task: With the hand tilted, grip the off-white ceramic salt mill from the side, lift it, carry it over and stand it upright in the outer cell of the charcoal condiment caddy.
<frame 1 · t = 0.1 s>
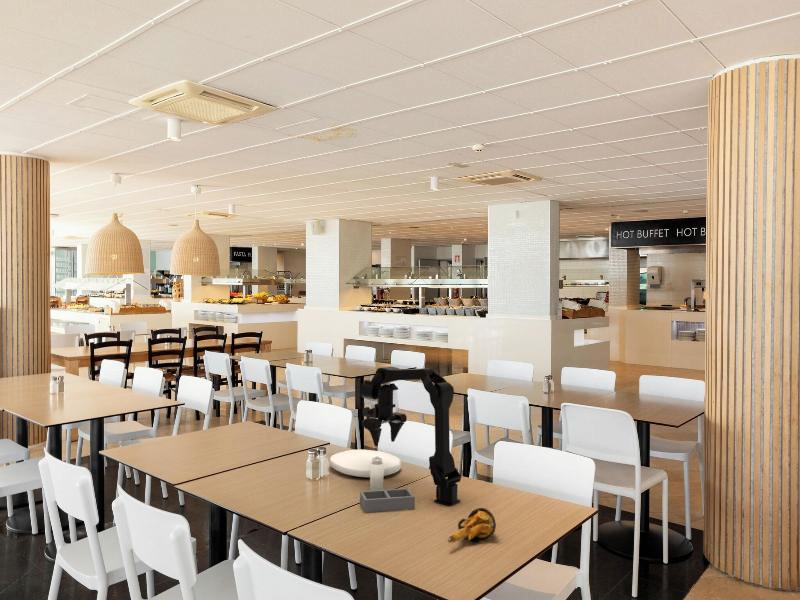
hand: (384, 443, 222), 15 cm above the table, tool pointing down, fingers open, 9 cm apart
plate: (365, 470, 239), on the table
salt mill: (376, 495, 210), on the table
fried shrimp in bowl: (471, 542, 172), on the table
condiment caddy: (386, 506, 199), on the table
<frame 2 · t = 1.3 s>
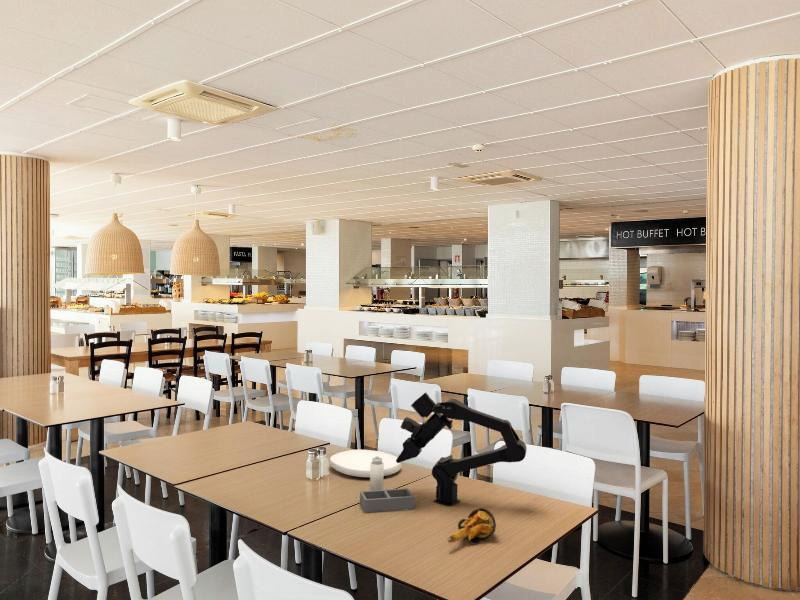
hand: (399, 458, 208), 13 cm above the table, tool tilted 45°, fingers open, 9 cm apart
nothing on the table moved.
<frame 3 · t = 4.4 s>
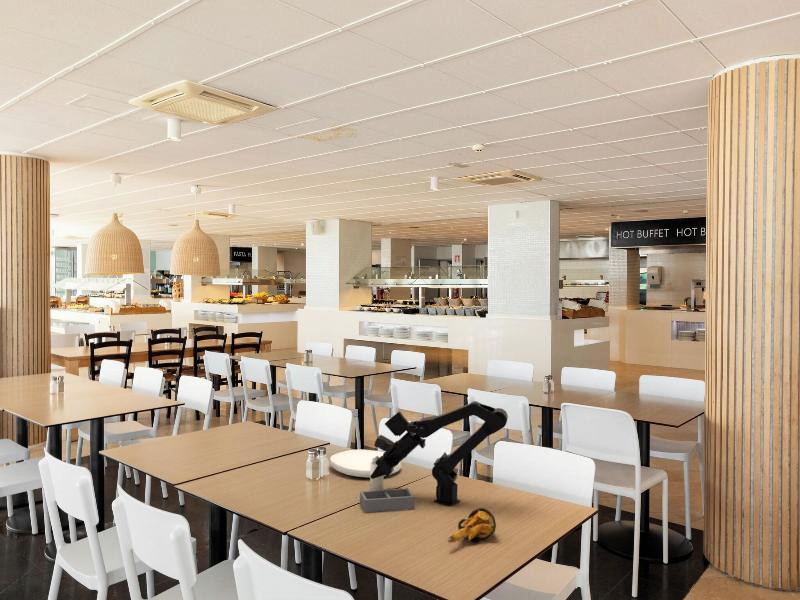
hand: (372, 475, 210), 7 cm above the table, tool tilted 45°, fingers closed on salt mill, 5 cm apart
salt mill: (376, 495, 210), on the table, touching gripper
everything else where it was.
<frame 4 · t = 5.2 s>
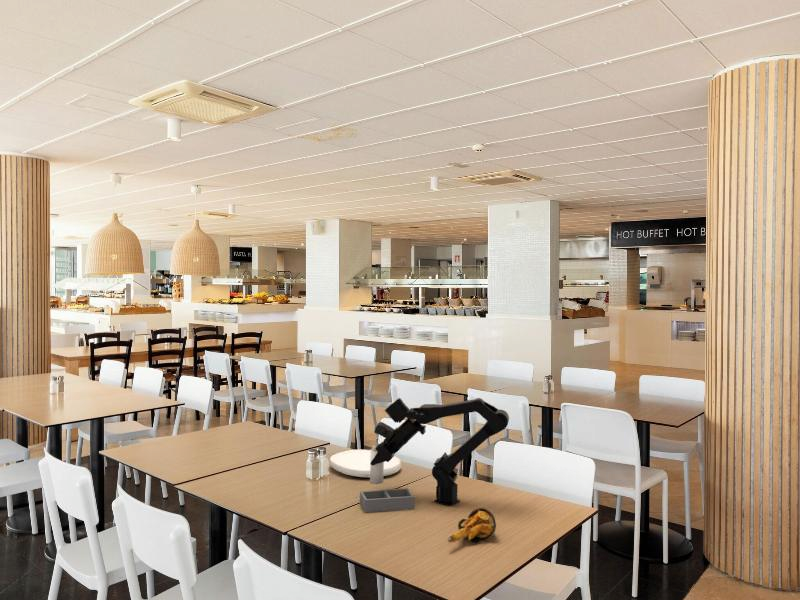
hand: (373, 462, 210), 11 cm above the table, tool tilted 45°, fingers closed on salt mill, 5 cm apart
salt mill: (376, 481, 210), point 5 cm above the table, touching gripper
everything else where it was.
when the fingers open (9 cm above the table, at t = 8.5 s): salt mill drops 1 cm, resting on condiment caddy.
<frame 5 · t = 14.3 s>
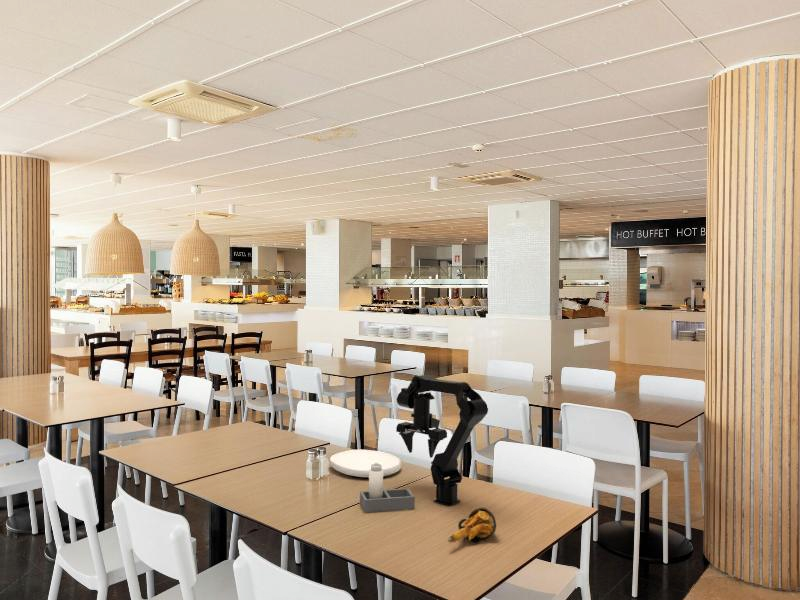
hand: (420, 455, 214), 13 cm above the table, tool pointing down, fingers open, 9 cm apart
salt mill: (375, 503, 198), point 1 cm above the table, touching condiment caddy
everything else where it was.
at the end: salt mill 0.1 cm from the target spot, point 1.0 cm above the table; salt mill tilted 1°; the gripper is holding nothing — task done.
